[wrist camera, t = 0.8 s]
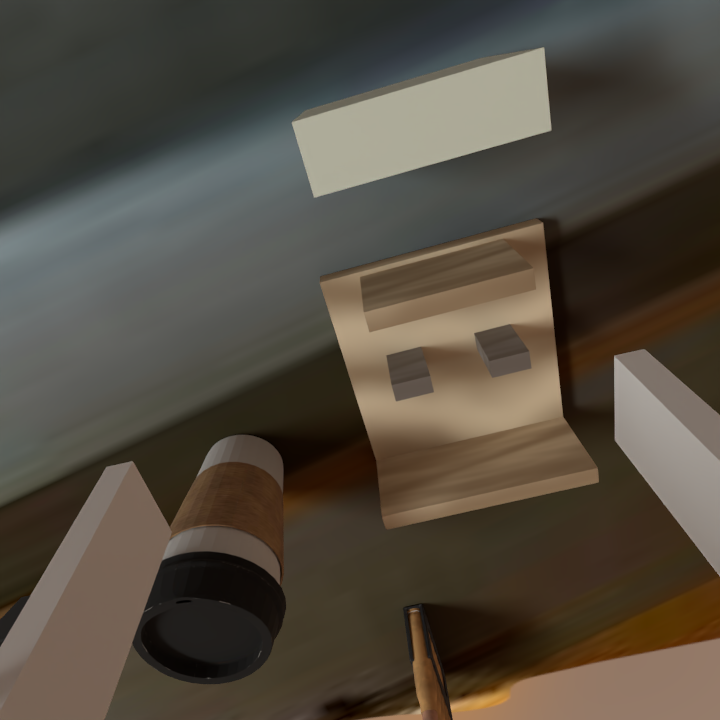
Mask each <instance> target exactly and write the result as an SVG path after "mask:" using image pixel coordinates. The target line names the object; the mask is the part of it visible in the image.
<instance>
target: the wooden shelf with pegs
mask: <svg viewBox="0 0 720 720" xmlns="http://www.w3.org/2000/svg"><path fill="white" fill-rule="evenodd" d="M320 285H321V288H322V291H323V294H324V297H325V301H326V304H327V307H328V310H329V313H330V316H331V320H332V323H333V326H334V329H335V332H336V335H337V338H338V342H339V345H340V348H341V351H342V354H343V357H344V360H345V364H346V367H347V370H348V373H349V376H350V379H351V383H352V386H353V389H354V392H355V395H356V398H357V401H358V405H359V408H360V411H361V414H362V417H363V420H364V424H365V427H366V430H367V433H368V436H369V439H370V442H371V446H372V449H373V452H374V455H375V458H376V463H377V473H378V482H379V492H380V502H381V512H382V518H383V521H384V524H385V527H386V530H387V529H392V528H396V527H401V526H405V525H410V524H414V523H418V522H423V521H427V520H432V519H436V518H441V517H445V516H450V515H454V514H459V513H463V512H468V511H472V510H477V509H481V508H486V507H490V506H495V505H499V504H503V503H508V502H512V501H517V500H521V499H526V498H530V497H535V496H539V495H544V494H548V493H553V492H557V491H562V490H566V489H571V488H575V487H580V486H584V485H588V484H593V483H597V482H599V479H598V468H597V466H596V465H595V463H594V462H593V460H592V459H591V457H590V456H589V454H588V453H587V451H586V450H585V448H584V447H583V445H582V444H581V442H580V441H579V439H578V438H577V436H576V435H575V433H574V432H573V431H572V429H571V428H570V426H569V425H568V423H567V422H566V420H565V419H564V417H563V410H562V401H561V391H560V381H559V372H558V362H557V353H556V343H555V333H554V324H553V314H552V304H551V295H550V285H549V275H548V266H547V256H546V246H545V237H544V227H543V222H541V221H540V220H538V219H537V218H536V219H532V220H528V221H525V222H521V223H517V224H513V225H510V226H506V227H502V228H499V229H495V230H491V231H487V232H484V233H480V234H476V235H473V236H469V237H465V238H461V239H458V240H454V241H450V242H447V243H443V244H439V245H436V246H432V247H428V248H424V249H421V250H417V251H413V252H410V253H406V254H402V255H398V256H395V257H391V258H387V259H384V260H380V261H376V262H372V263H369V264H365V265H361V266H358V267H354V268H350V269H346V270H343V271H339V272H335V273H332V274H328V275H324V276H320Z"/></svg>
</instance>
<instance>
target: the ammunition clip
mask: <svg viewBox="0 0 720 720" xmlns="http://www.w3.org/2000/svg"><path fill="white" fill-rule="evenodd" d="M403 610H404V618H405V626H406V633H407V641H408V649H409V656H410V662H411V665H412V667H413V671H414V678H415V685H416V693H417V697H418V700H419V703H420V708H421V713H422V717H423V720H453V719H452V713H451V708H450V702H449V696H448V691H447V685H446V680H445V674H444V669H443V666H442V663H441V660H440V657H439V653H438V650H437V647H436V644H435V641H434V638H433V635H432V632H431V629H430V625H429V622H428V619H427V616H426V613H425V610H424V607H423V604H420V605H415V606H410V607H405V608H403Z"/></svg>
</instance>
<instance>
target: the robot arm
mask: <svg viewBox="0 0 720 720" xmlns="http://www.w3.org/2000/svg"><path fill="white" fill-rule="evenodd" d="M614 390H615V441H616V442H617V444H618V445H619V446H620V447H621V449H622V450H623V451H624V453H625V454H626V455H627V457H628V458H629V459H630V460H631V462H632V463H633V464H634V466H635V467H636V468H637V469H638V471H639V472H640V473H641V475H642V476H643V477H644V479H645V480H646V481H647V482H648V484H649V485H650V486H651V488H652V489H653V490H654V492H655V493H656V494H657V495H658V497H659V498H660V499H661V501H662V502H663V503H664V505H665V506H666V507H667V508H668V510H669V511H670V512H671V514H672V515H673V516H674V518H675V519H676V520H677V521H678V523H679V524H680V525H681V527H682V528H683V529H684V530H685V532H686V533H687V534H688V536H689V537H690V538H691V540H692V541H693V542H694V543H695V545H696V546H697V547H698V549H699V550H700V551H701V553H702V554H703V555H704V556H705V558H706V559H707V560H708V562H709V563H710V564H711V566H712V567H713V568H714V569H715V571H716V572H717V573H718V575H719V576H720V415H719V414H718V413H717V412H715V411H714V410H713V409H712V408H711V407H710V406H709V405H707V404H706V403H705V402H704V401H703V400H702V399H701V398H699V397H698V396H697V395H696V394H695V393H694V392H693V391H692V390H690V389H689V388H688V387H687V386H686V385H685V384H684V383H682V382H681V381H680V380H679V379H678V378H677V377H676V376H674V375H673V374H672V373H671V372H670V371H669V370H668V369H666V368H665V367H664V366H663V365H662V364H661V363H660V362H659V361H657V360H656V359H655V358H654V357H653V356H652V355H651V354H649V353H648V352H647V351H646V350H645V349H643V350H638V351H633V352H629V353H624V354H620V355H615V356H614ZM171 534H172V531H171V529H170V527H169V526H168V524H167V522H166V520H165V518H164V517H163V515H162V513H161V511H160V509H159V508H158V506H157V504H156V502H155V500H154V499H153V497H152V495H151V493H150V491H149V490H148V488H147V486H146V484H145V482H144V481H143V479H142V477H141V475H140V473H139V472H138V470H137V468H136V466H135V464H134V463H133V461H132V462H127V463H122V464H118V465H113V466H109V467H106V469H105V470H104V472H103V474H102V476H101V477H100V479H99V481H98V482H97V484H96V486H95V487H94V489H93V491H92V492H91V494H90V496H89V498H88V499H87V501H86V503H85V504H84V506H83V508H82V509H81V511H80V513H79V515H78V516H77V518H76V520H75V521H74V523H73V525H72V526H71V528H70V530H69V531H68V533H67V535H66V537H65V538H64V540H63V542H62V543H61V545H60V547H59V548H58V550H57V552H56V553H55V555H54V557H53V559H52V560H51V562H50V564H49V565H48V567H47V569H46V570H45V572H44V574H43V575H42V577H41V579H40V581H39V582H38V584H37V586H36V587H35V589H34V591H33V592H32V594H31V596H26V597H21V598H20V599H19V601H18V602H17V603H16V604H15V605H14V606H13V607H12V608H11V609H10V610H9V611H8V612H7V613H6V614H5V615H4V616H3V617H2V618H1V619H0V720H104V719H105V716H106V714H107V711H108V708H109V705H110V703H111V700H112V697H113V694H114V692H115V689H116V686H117V683H118V681H119V678H120V675H121V672H122V669H123V667H124V664H125V661H126V658H127V656H128V653H129V650H130V647H131V645H132V642H133V639H134V636H135V633H136V631H137V628H138V625H139V622H140V620H141V617H142V614H143V611H144V609H145V606H146V603H147V600H148V597H149V595H150V592H151V589H152V586H153V584H154V581H155V578H156V575H157V573H158V570H159V567H160V564H161V561H162V559H163V556H164V553H165V550H166V548H167V545H168V542H169V539H170V537H171Z"/></svg>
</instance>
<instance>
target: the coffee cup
mask: <svg viewBox="0 0 720 720" xmlns="http://www.w3.org/2000/svg"><path fill="white" fill-rule="evenodd" d="M170 529H171V531H172V534H171V537H170V539H169V542H168V545H167V548H166V550H165V553H164V556H163V559H162V561H161V564H160V567H159V570H158V573H157V575H156V578H155V581H154V584H153V586H152V589H151V592H150V595H149V597H148V600H147V603H146V606H145V609H144V611H143V614H142V617H141V620H140V622H139V625H138V628H137V631H136V633H135V636H134V639H133V642H132V643H133V646H134V648H135V649H136V651H137V652H138V654H139V655H140V656H141V657H142V658H143V659H144V660H145V661H146V662H147V663H148V664H149V665H151V666H152V667H154V668H155V669H156V670H158V671H160V672H162V673H164V674H165V675H167V676H170V677H173V678H175V679H178V680H182V681H186V682H191V683H199V684H221V683H227V682H232V681H235V680H239V679H242V678H244V677H246V676H248V675H250V674H252V673H253V672H255V671H256V670H257V669H259V668H260V667H261V666H262V665H263V664H264V663H265V661H266V660H267V659H268V657H269V655H270V653H271V650H272V646H273V643H274V639H275V638H276V637H277V635H278V633H279V631H280V629H281V627H282V622H283V618H284V615H285V610H286V601H285V596H284V593H283V591H282V588H281V587H280V586H281V584H282V580H283V575H284V563H283V461H282V458H281V456H280V454H279V452H278V451H277V450H276V449H275V448H274V446H273V445H271V444H270V443H269V442H267V441H265V440H263V439H261V438H259V437H255V436H251V435H234V436H229V437H227V438H224V439H222V440H220V441H219V442H217V443H216V444H215V445H214V446H213V447H212V448H211V450H210V451H209V453H208V454H207V456H206V459H205V461H204V463H203V465H202V467H201V469H200V471H199V473H198V475H197V477H196V479H195V481H194V482H193V484H192V486H191V488H190V490H189V492H188V494H187V496H186V498H185V499H184V501H183V503H182V505H181V507H180V509H179V511H178V513H177V515H176V517H175V519H174V521H173V523H172V524H171V526H170Z"/></svg>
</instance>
